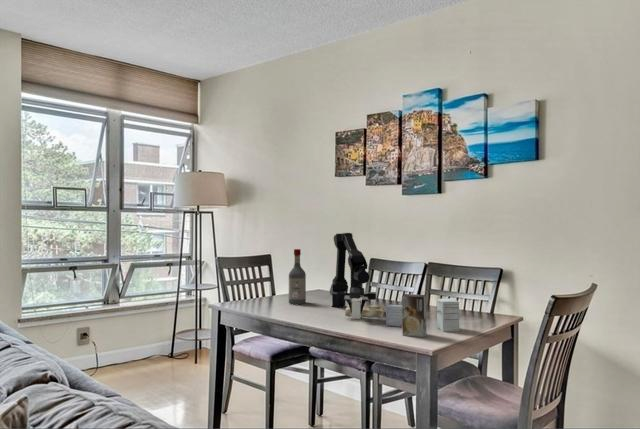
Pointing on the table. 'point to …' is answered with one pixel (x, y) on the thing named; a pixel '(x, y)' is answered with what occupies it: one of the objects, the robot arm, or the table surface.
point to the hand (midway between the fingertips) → (356, 313)
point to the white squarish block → (356, 309)
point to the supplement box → (448, 315)
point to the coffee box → (414, 315)
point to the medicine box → (394, 315)
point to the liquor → (297, 281)
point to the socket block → (368, 311)
